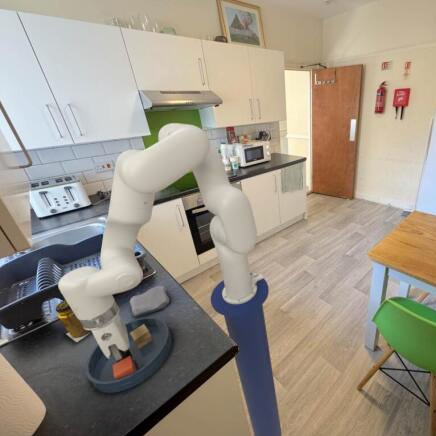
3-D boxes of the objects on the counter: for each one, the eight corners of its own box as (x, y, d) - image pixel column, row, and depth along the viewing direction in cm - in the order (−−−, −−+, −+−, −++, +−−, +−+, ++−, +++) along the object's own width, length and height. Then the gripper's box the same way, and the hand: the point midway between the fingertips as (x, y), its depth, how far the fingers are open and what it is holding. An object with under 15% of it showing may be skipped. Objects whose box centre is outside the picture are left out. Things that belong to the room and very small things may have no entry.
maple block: (147, 332, 76) (143, 323, 74) (152, 339, 73) (148, 330, 71) (134, 341, 73) (129, 332, 71) (138, 349, 71) (134, 340, 69)
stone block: (173, 307, 88) (165, 289, 94) (169, 299, 85) (161, 281, 91) (136, 325, 82) (131, 304, 88) (131, 318, 79) (126, 296, 85)
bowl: (163, 315, 82) (159, 307, 80) (180, 358, 68) (176, 349, 66) (91, 351, 71) (85, 343, 69) (93, 411, 57) (86, 402, 55)
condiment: (66, 334, 77) (47, 307, 72) (94, 315, 84) (79, 289, 79) (77, 343, 74) (58, 315, 69) (106, 322, 81) (91, 296, 76)
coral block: (135, 364, 66) (130, 355, 65) (137, 375, 64) (132, 366, 62) (118, 374, 64) (112, 365, 62) (120, 386, 61) (114, 377, 60)
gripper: (120, 324, 55) (145, 372, 63) (114, 289, 66) (136, 334, 74) (79, 343, 51) (112, 392, 59) (80, 303, 62) (107, 349, 70)
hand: (125, 360), depth 67 cm, fingers closed
